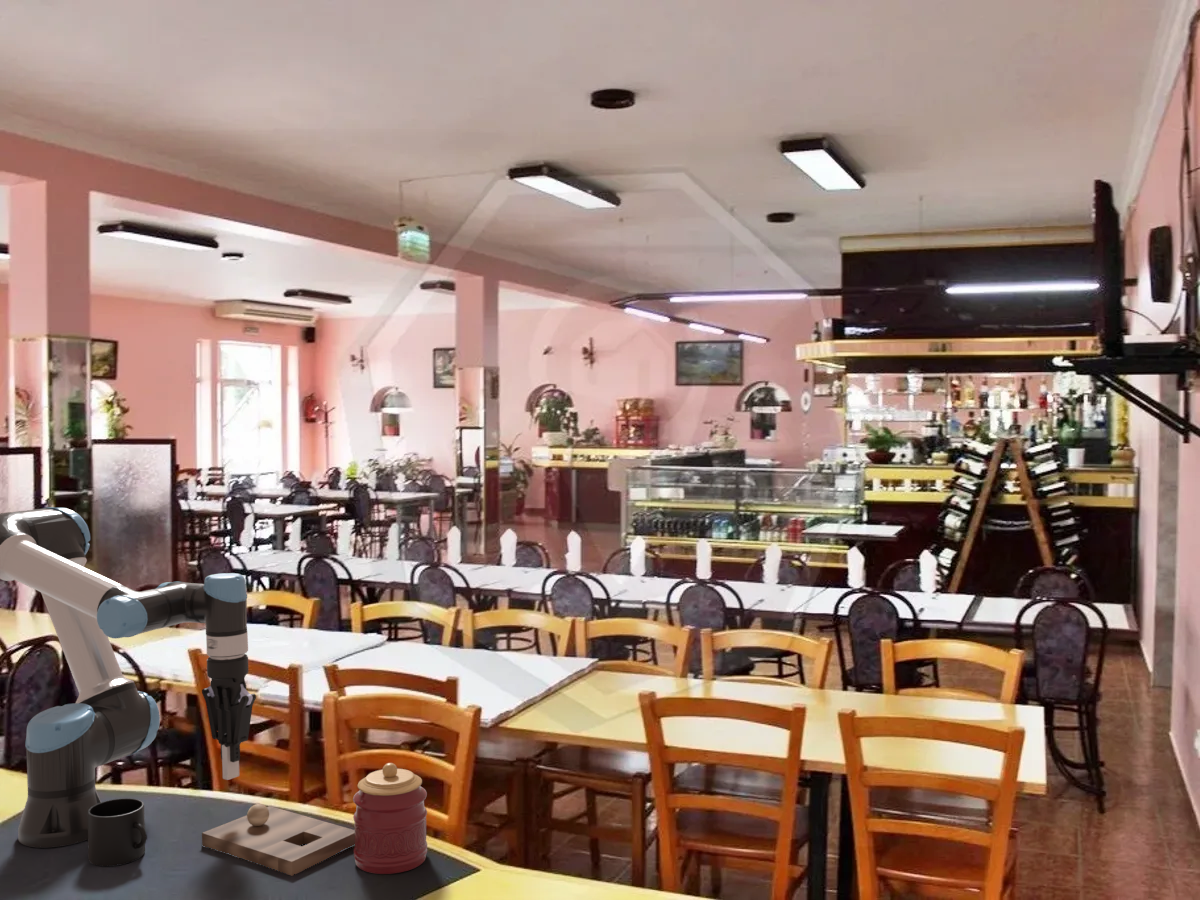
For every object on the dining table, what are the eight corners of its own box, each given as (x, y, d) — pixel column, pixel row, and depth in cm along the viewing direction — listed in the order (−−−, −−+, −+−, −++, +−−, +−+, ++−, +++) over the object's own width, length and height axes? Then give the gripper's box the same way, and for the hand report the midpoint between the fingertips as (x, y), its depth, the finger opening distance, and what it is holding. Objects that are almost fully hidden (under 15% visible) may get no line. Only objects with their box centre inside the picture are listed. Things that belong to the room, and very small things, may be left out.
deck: (202, 846, 204) (201, 832, 204) (270, 818, 218) (270, 806, 218) (292, 875, 192) (291, 861, 191) (358, 844, 205) (358, 831, 205)
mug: (124, 873, 193) (123, 822, 192) (76, 861, 198) (75, 812, 197) (167, 853, 201) (166, 804, 201) (119, 842, 206) (118, 795, 206)
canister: (439, 850, 202) (438, 755, 201) (406, 880, 190) (405, 778, 189) (376, 842, 206) (375, 749, 205) (339, 870, 194) (338, 771, 193)
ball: (242, 826, 207) (242, 805, 207) (259, 819, 211) (259, 799, 210) (257, 831, 205) (256, 810, 205) (273, 824, 208) (273, 803, 208)
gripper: (188, 655, 211) (192, 777, 212) (234, 663, 204) (237, 789, 205) (221, 648, 217) (224, 766, 218) (266, 655, 210) (269, 777, 211)
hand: (231, 777), depth 212 cm, fingers closed
